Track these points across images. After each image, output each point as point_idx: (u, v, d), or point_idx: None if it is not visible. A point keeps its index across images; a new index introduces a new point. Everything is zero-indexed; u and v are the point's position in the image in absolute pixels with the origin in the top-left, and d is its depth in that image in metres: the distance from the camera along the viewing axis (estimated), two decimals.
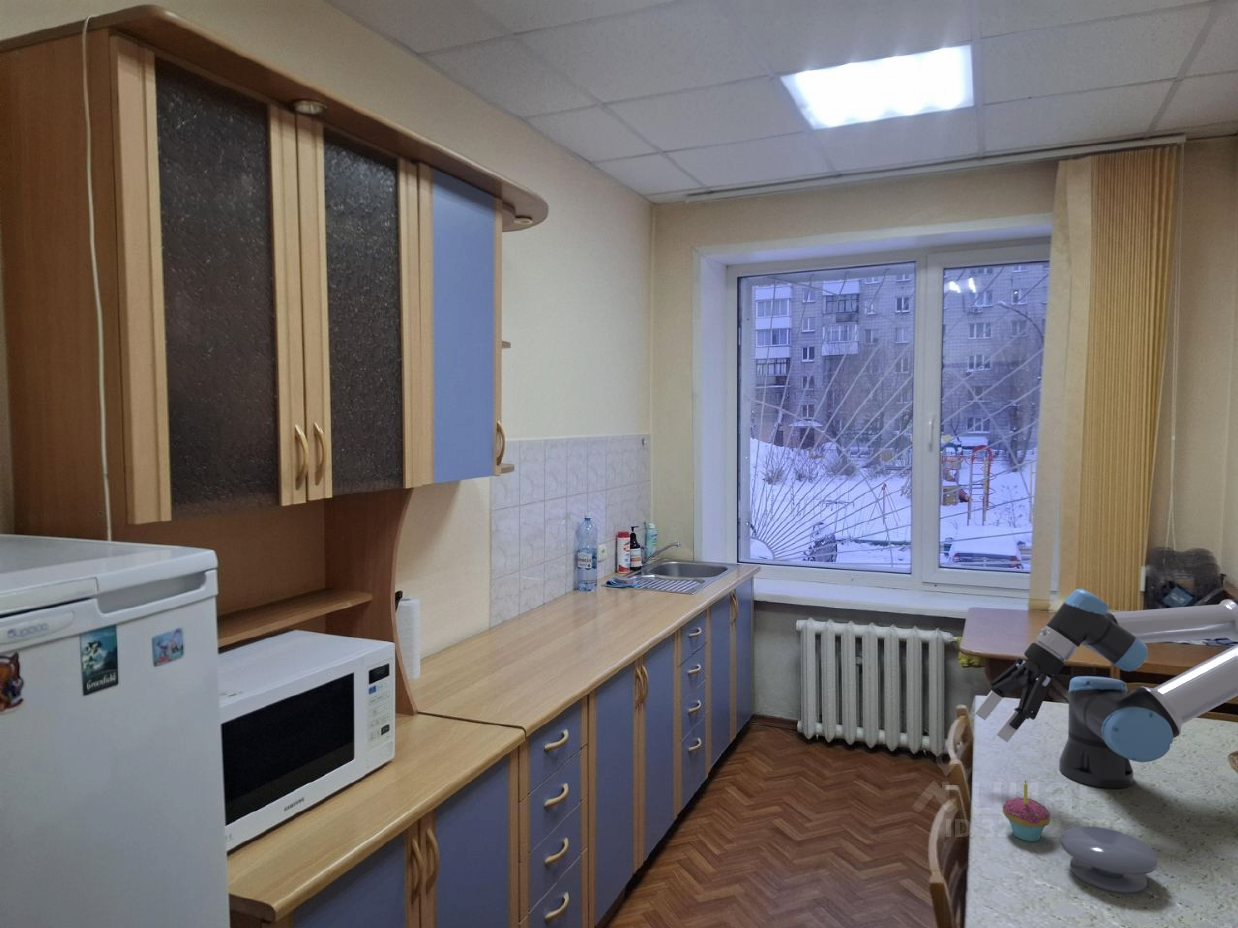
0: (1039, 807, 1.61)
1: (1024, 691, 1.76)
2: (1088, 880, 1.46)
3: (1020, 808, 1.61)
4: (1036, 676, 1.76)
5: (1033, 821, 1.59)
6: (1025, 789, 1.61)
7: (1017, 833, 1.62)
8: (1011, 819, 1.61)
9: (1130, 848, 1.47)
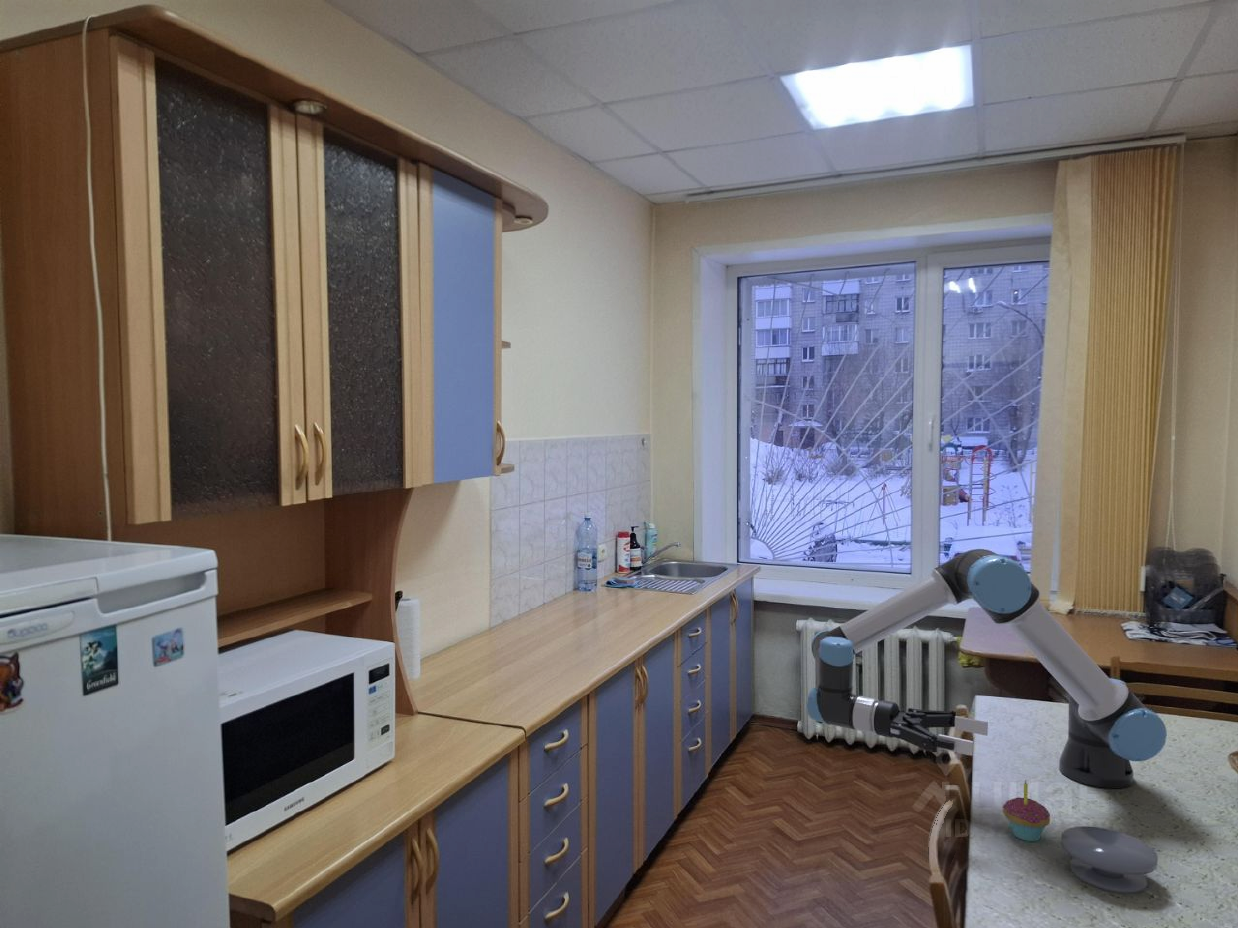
0: (1039, 807, 1.61)
1: None
2: (1088, 880, 1.46)
3: (1020, 808, 1.61)
4: None
5: (1033, 821, 1.59)
6: (1025, 789, 1.61)
7: (1017, 833, 1.62)
8: (1011, 819, 1.61)
9: (1130, 848, 1.47)
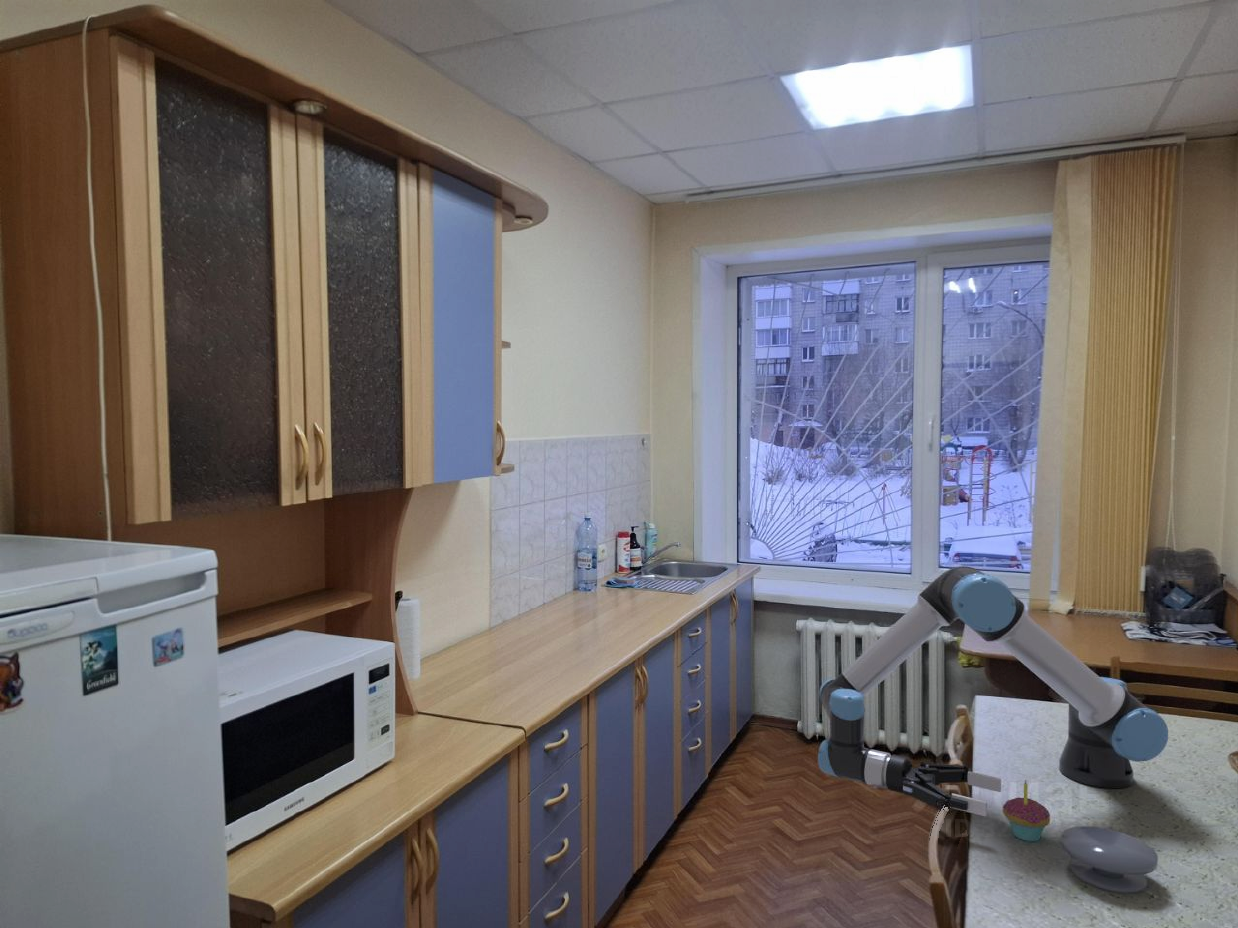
0: (1039, 807, 1.61)
1: None
2: (1088, 880, 1.46)
3: (1020, 808, 1.61)
4: None
5: (1033, 821, 1.59)
6: (1025, 789, 1.61)
7: (1017, 833, 1.62)
8: (1011, 819, 1.61)
9: (1130, 848, 1.47)
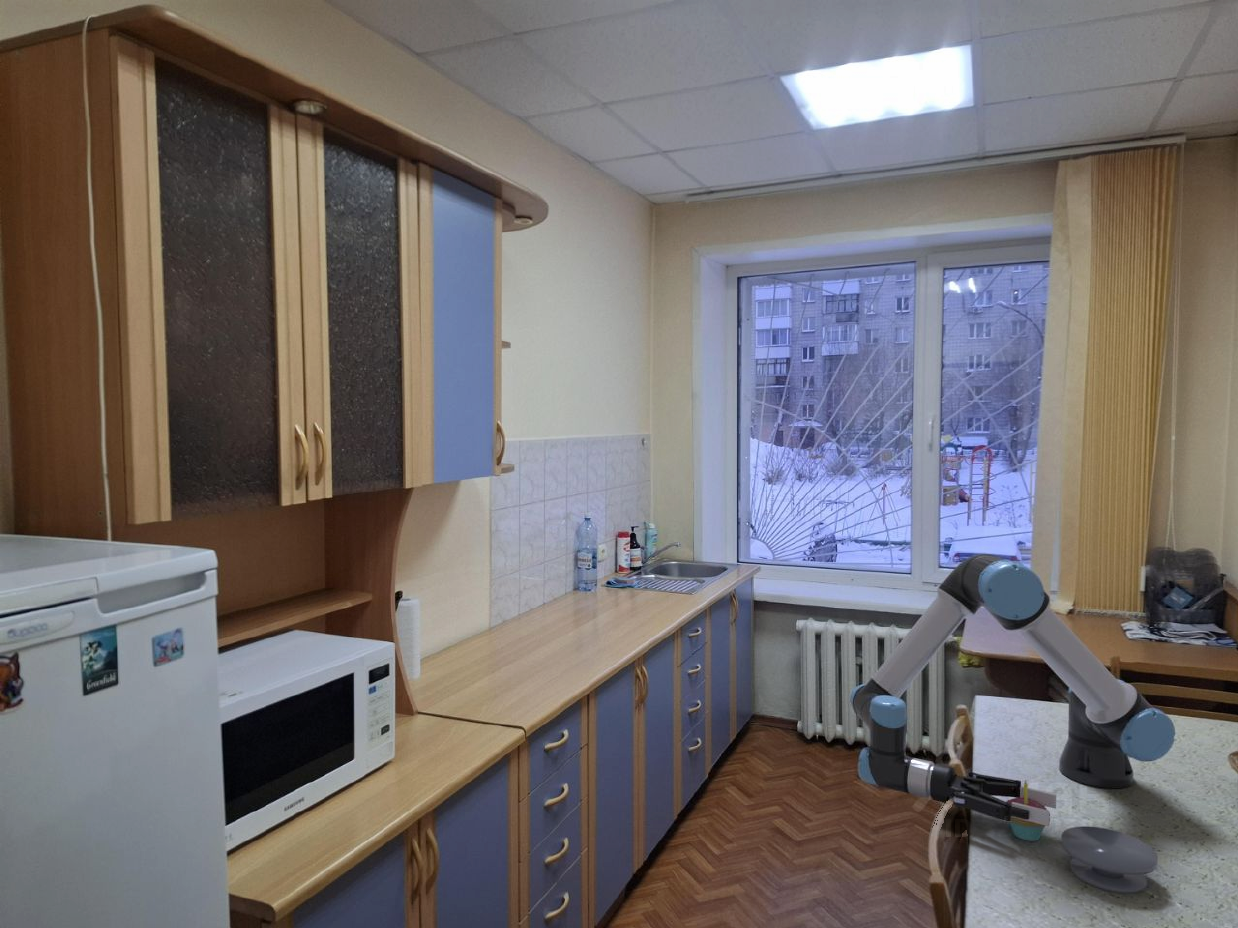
0: (1039, 807, 1.61)
1: None
2: (1088, 880, 1.46)
3: None
4: None
5: None
6: (1025, 789, 1.61)
7: (1017, 833, 1.62)
8: (1011, 819, 1.61)
9: (1130, 848, 1.47)
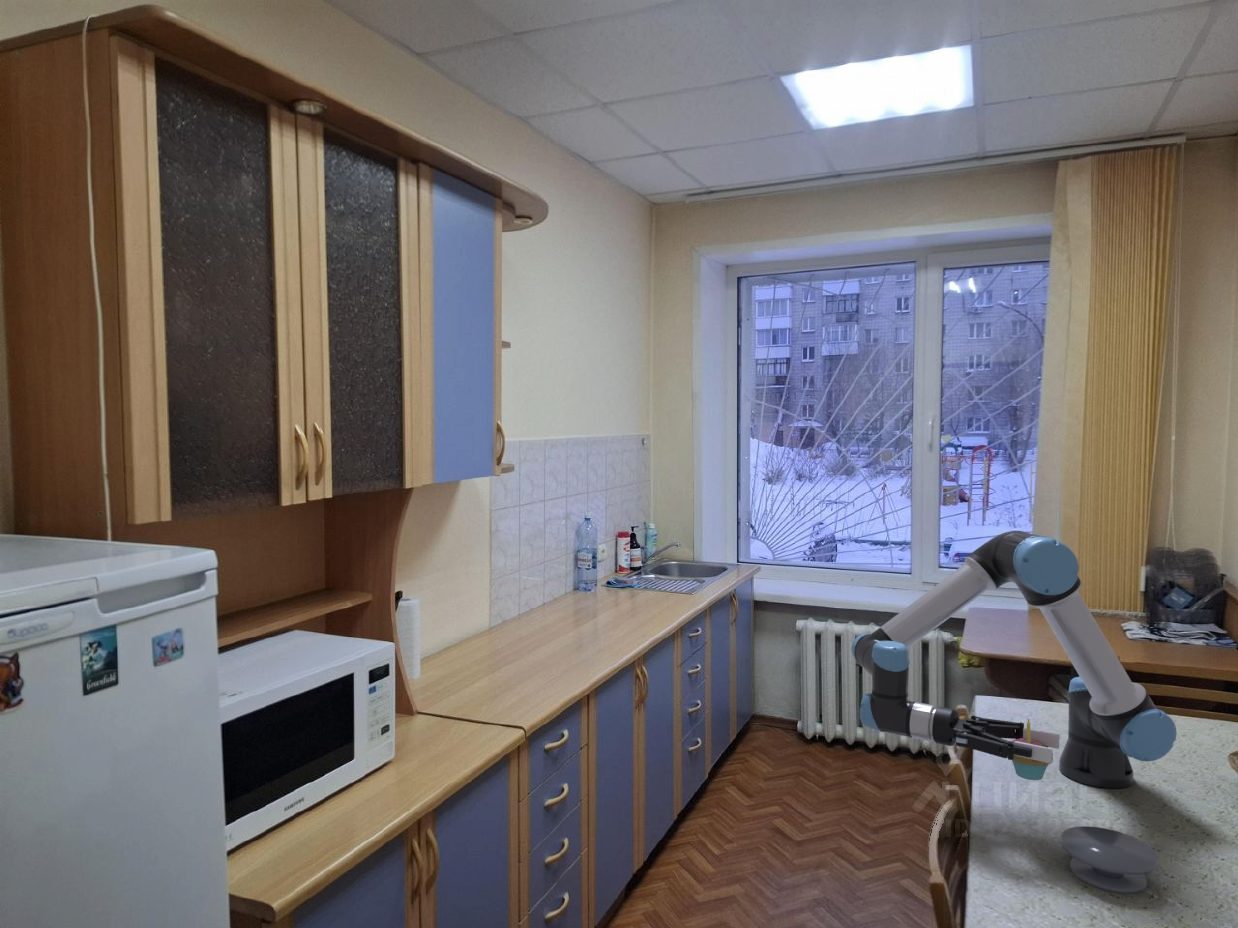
0: None
1: None
2: (1088, 880, 1.46)
3: None
4: None
5: None
6: (1028, 728, 1.60)
7: (1020, 772, 1.61)
8: (1014, 758, 1.60)
9: (1130, 848, 1.47)
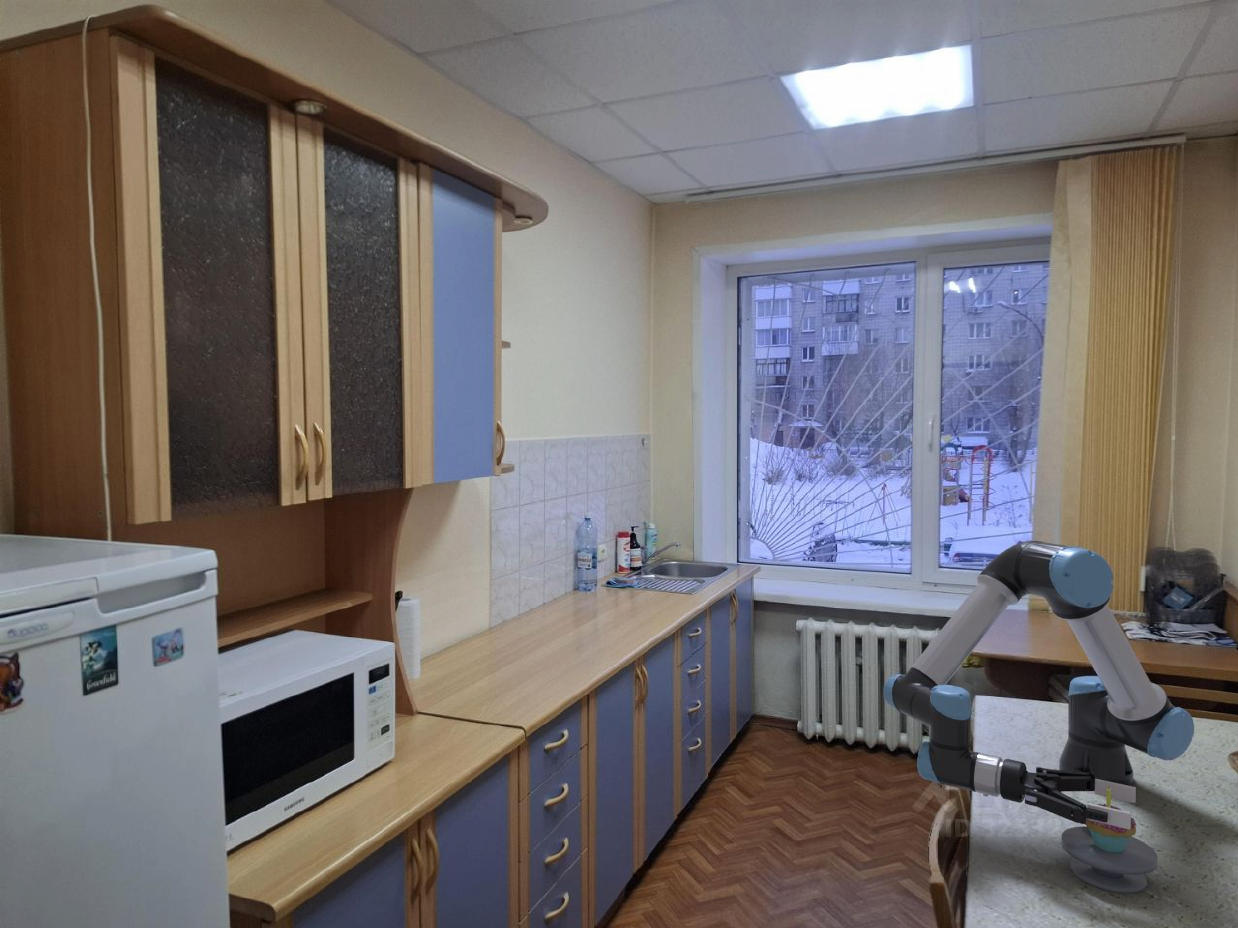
0: None
1: None
2: (1088, 880, 1.46)
3: None
4: None
5: (1119, 831, 1.44)
6: (1108, 795, 1.46)
7: (1099, 844, 1.47)
8: (1093, 829, 1.46)
9: (1130, 848, 1.47)
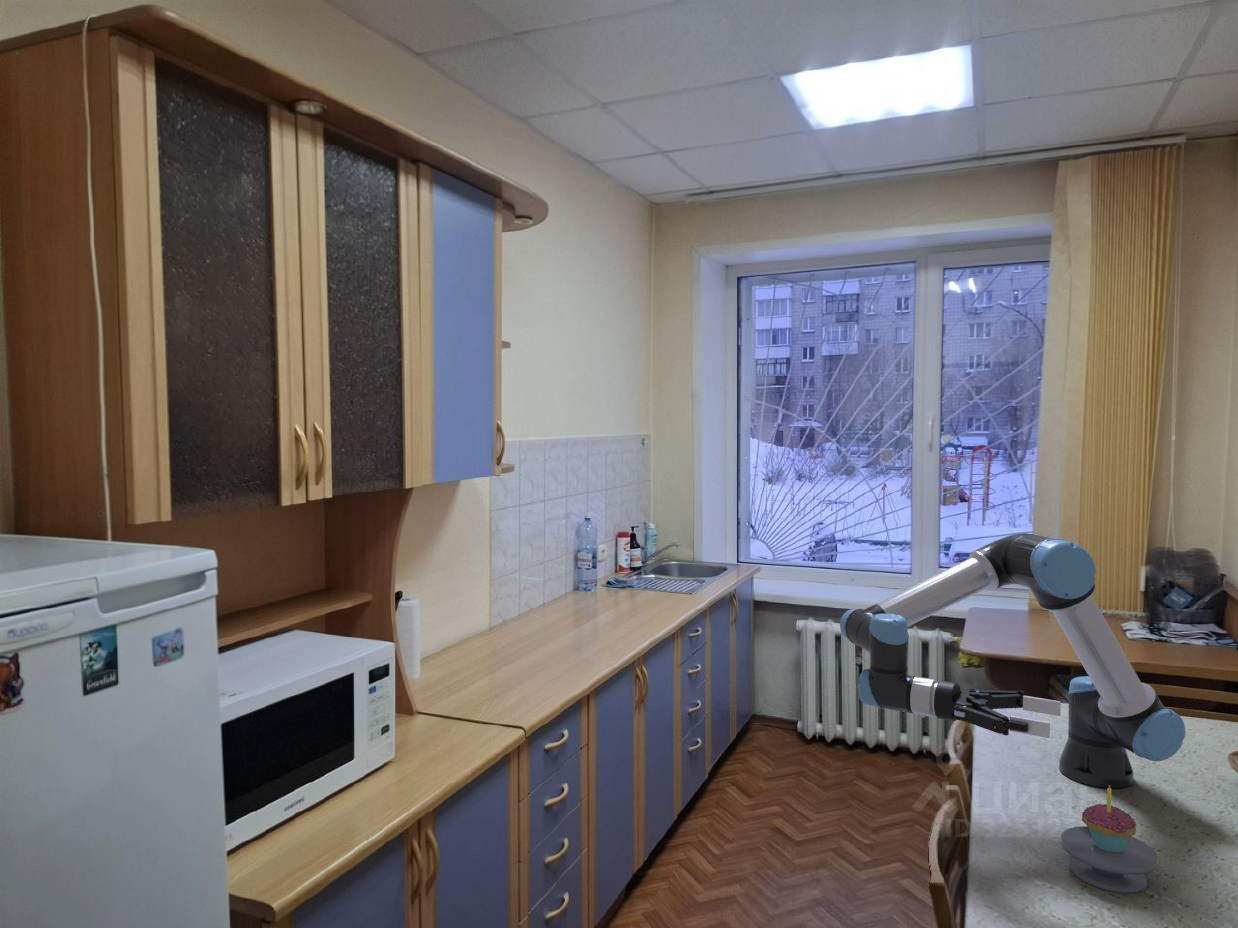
0: (1124, 815, 1.46)
1: None
2: (1088, 880, 1.46)
3: (1103, 816, 1.46)
4: None
5: (1119, 831, 1.44)
6: (1109, 795, 1.46)
7: (1100, 844, 1.47)
8: (1093, 828, 1.46)
9: (1130, 848, 1.47)
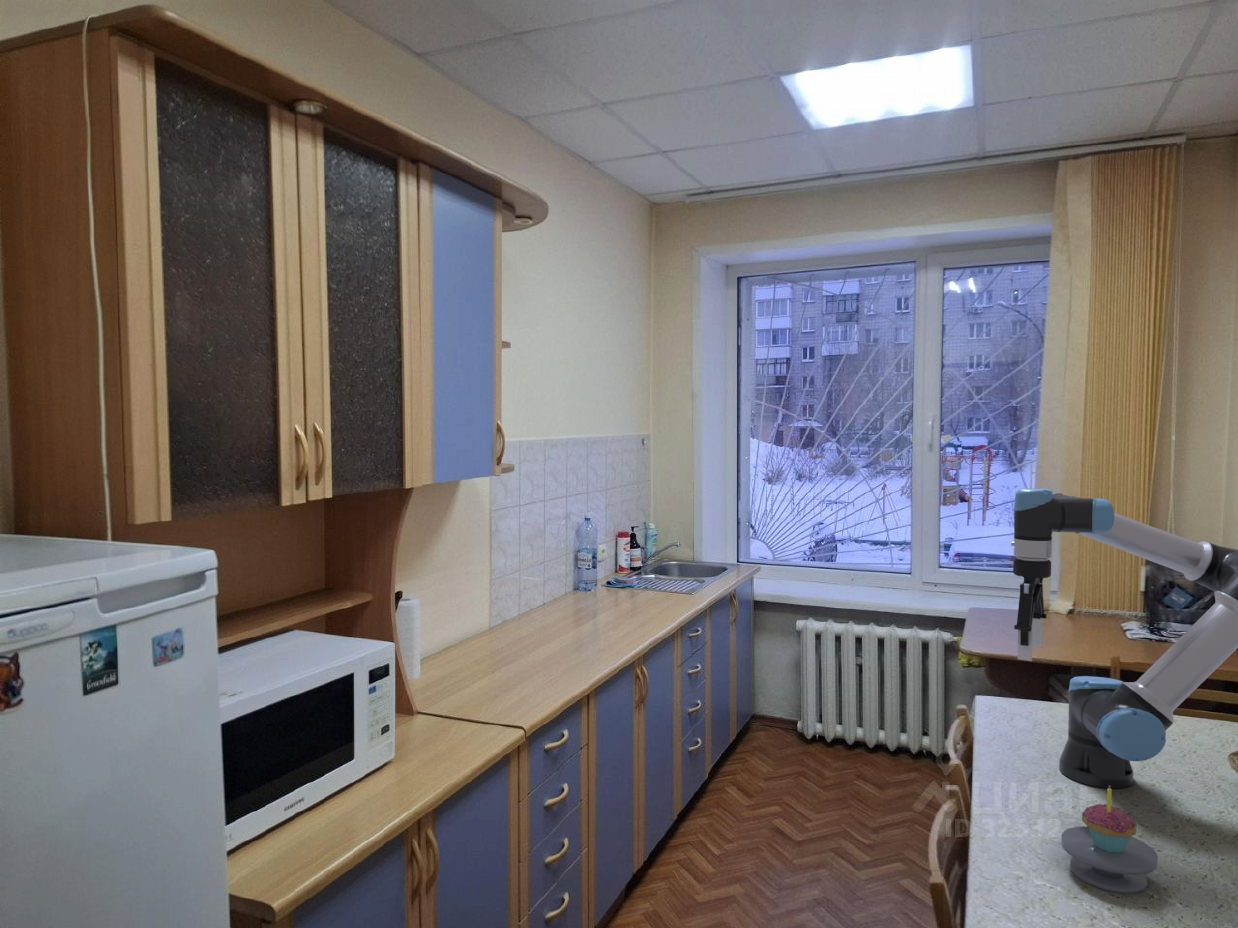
0: (1124, 815, 1.46)
1: None
2: (1088, 880, 1.46)
3: (1103, 816, 1.46)
4: None
5: (1119, 831, 1.44)
6: (1109, 795, 1.46)
7: (1100, 844, 1.47)
8: (1093, 828, 1.46)
9: (1130, 848, 1.47)
